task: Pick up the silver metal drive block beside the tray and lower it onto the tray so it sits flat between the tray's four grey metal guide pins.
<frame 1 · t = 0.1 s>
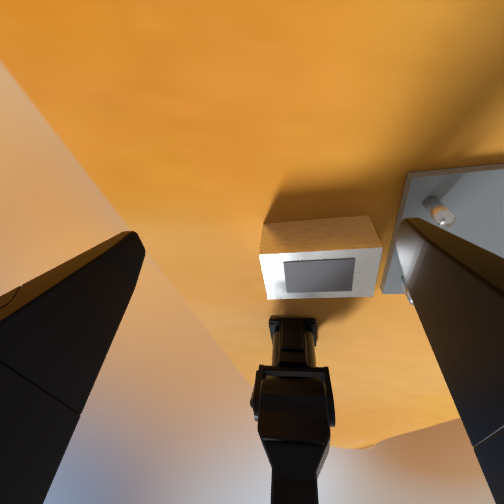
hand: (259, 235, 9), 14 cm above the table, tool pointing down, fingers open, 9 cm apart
pin tray: (489, 234, 24), on the table
drive block: (314, 242, 27), on the table
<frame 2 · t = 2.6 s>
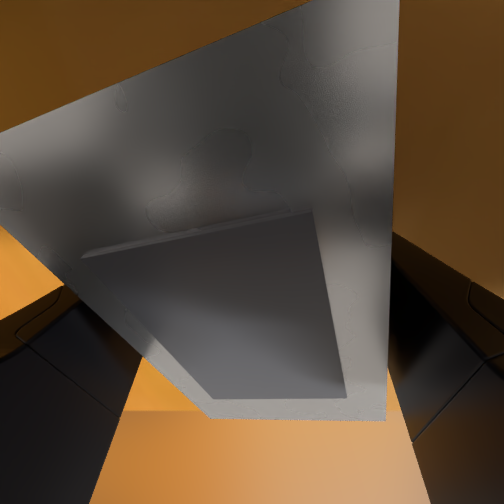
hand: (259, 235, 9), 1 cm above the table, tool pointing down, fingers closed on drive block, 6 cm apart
drive block: (260, 219, 10), on the table, touching gripper
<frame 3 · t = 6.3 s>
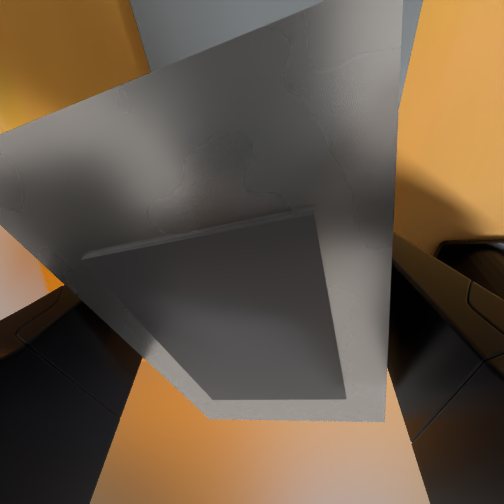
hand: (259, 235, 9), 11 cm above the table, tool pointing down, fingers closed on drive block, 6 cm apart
drive block: (261, 219, 10), point 10 cm above the table, touching gripper
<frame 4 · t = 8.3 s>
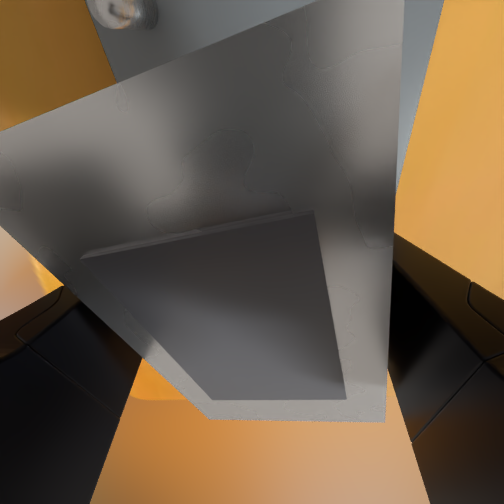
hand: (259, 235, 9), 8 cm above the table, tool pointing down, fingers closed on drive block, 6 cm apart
pin tray: (269, 152, 15), on the table
drive block: (260, 219, 10), point 7 cm above the table, touching gripper
when the fingers open (3 cm above the table, at t = 10.1 s): drive block drops 1 cm, resting on pin tray.
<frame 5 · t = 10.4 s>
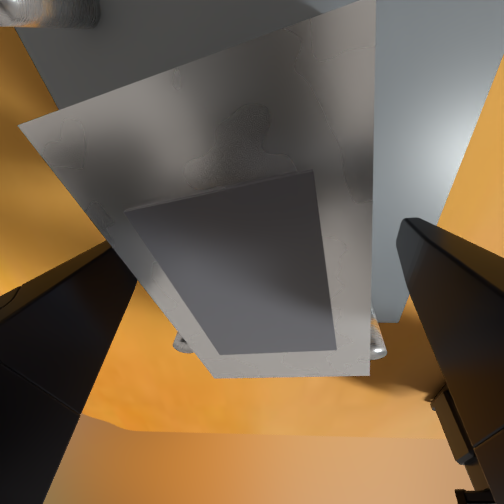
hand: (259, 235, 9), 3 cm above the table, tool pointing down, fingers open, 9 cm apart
pin tray: (265, 188, 11), on the table
drive block: (264, 200, 11), point 1 cm above the table, touching pin tray
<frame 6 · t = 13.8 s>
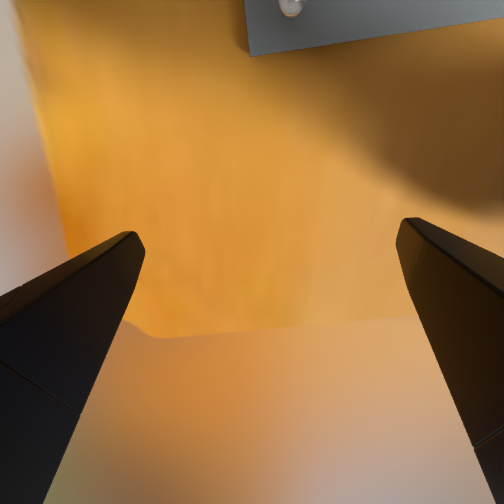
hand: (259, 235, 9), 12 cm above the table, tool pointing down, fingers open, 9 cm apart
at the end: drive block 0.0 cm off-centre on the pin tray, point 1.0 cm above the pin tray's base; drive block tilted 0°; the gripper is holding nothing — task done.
